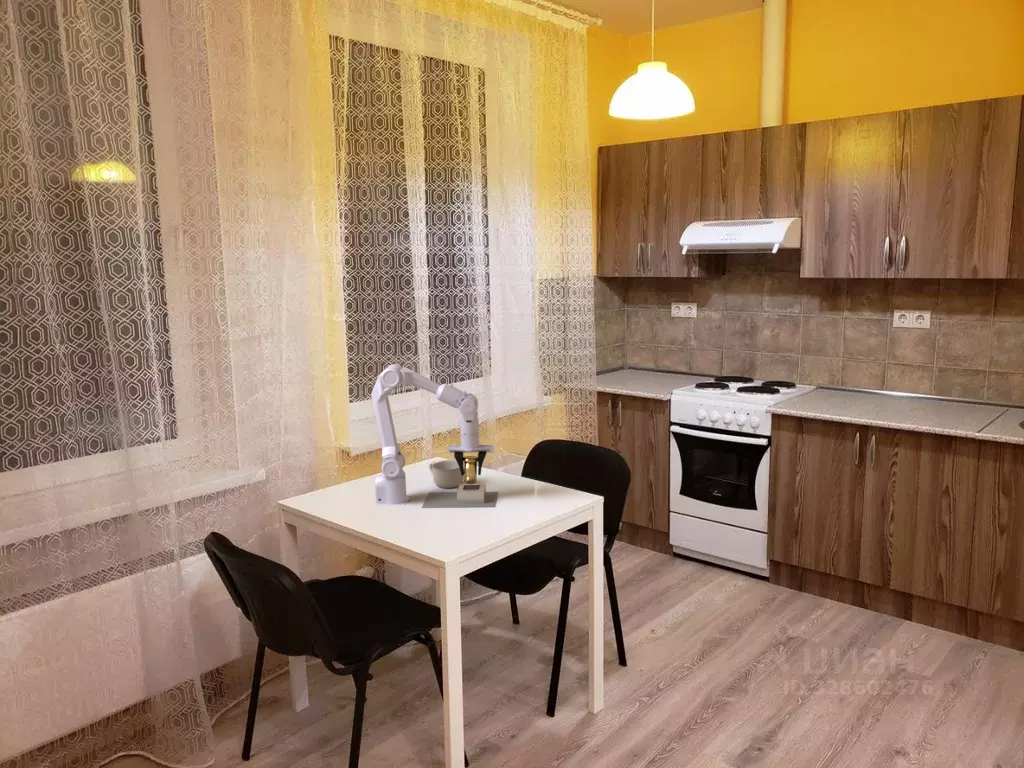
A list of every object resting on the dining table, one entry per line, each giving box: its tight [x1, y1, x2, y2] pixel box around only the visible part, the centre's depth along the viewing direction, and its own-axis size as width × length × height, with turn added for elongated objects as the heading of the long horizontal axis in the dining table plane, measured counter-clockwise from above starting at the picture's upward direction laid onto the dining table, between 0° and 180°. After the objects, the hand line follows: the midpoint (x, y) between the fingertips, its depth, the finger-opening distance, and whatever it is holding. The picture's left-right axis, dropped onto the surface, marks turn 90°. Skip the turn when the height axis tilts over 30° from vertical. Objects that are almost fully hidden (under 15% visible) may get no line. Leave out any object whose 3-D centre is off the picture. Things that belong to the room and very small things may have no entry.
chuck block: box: [456, 482, 487, 504], centre depth 244 cm, size 8×8×4 cm
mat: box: [421, 491, 499, 509], centre depth 244 cm, size 23×16×1 cm
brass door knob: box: [463, 455, 478, 484], centre depth 242 cm, size 5×5×8 cm
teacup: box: [428, 459, 464, 489], centre depth 261 cm, size 14×11×8 cm
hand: (471, 474), depth 243 cm, fingers closed on brass door knob, 5 cm apart
